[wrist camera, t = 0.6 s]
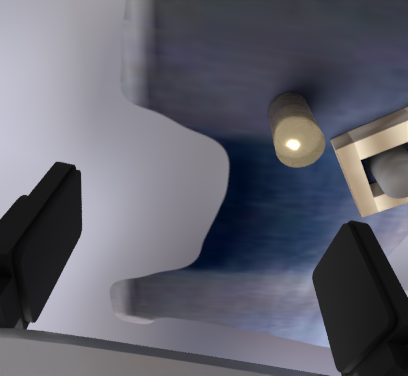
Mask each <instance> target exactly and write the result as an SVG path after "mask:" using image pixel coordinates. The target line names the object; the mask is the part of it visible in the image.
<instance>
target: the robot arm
mask: <svg viewBox="0 0 408 376" xmlns="http://www.w3.org/2000/svg"><path fill="white" fill-rule="evenodd" d="M81 231H82V201H81V172H80V170H76V167H75V165H72V164H67V163H62V162H56V163H55V164H54V165H53V166H52V167H51V168H50V170H49V171H48V172H47V173H46V175H45V176H44V177H43V178H42V179H41V181H40V182H39V183H38V184H37V186H36V187H35V188H34V189H33V190H32V192H31V193H30V194H29V196H27V195H23V196H21V197H19V198H18V200H16V202H15V203H14V204H13V205H12V206H11V208H10V209H9V210H8V211H7V212H6V213H5V215H4V216H3V217H2V218H1V219H0V376H328V375H321V374H316V373H310V372H304V371H298V370H292V369H286V368H279V367H274V366H267V365H261V364H255V363H249V362H243V361H236V360H230V359H224V358H218V357H212V356H205V355H199V354H192V353H186V352H180V351H173V350H167V349H161V348H154V347H148V346H141V345H135V344H129V343H122V342H116V341H109V340H103V339H96V338H89V337H82V336H75V335H68V334H60V333H53V332H45V331H36V330H26V329H27V327H28V324H29V323H30V322H32V323H34V322H36V321H37V319H38V317H39V316H40V314H41V312H42V310H43V308H44V306H45V304H46V302H47V300H48V298H49V296H50V294H51V292H52V290H53V288H54V286H55V284H56V283H57V281H58V279H59V277H60V275H61V273H62V271H63V269H64V267H65V265H66V263H67V261H68V259H69V257H70V255H71V253H72V251H73V249H74V248H75V246H76V244H77V242H78V239H79V238H80V235H81ZM312 279H313V284H314V287H315V291H316V295H317V299H318V302H319V306H320V310H321V314H322V317H323V321H324V325H325V329H326V332H327V336H328V340H329V344H330V347H331V351H332V355H333V358H334V362H335V365H336V368H337V370H338V371H339V372H341V375H342V376H408V297H407V295H406V293H405V292H404V290H403V288H402V286H401V284H400V283H399V280H398V279H397V276H396V275H395V273H394V271H393V269H392V267H391V265H390V263H389V262H388V259H387V258H386V256H385V254H384V252H383V250H382V248H381V246H380V244H379V243H378V241H377V239H376V237H375V235H374V233H373V231H372V229H371V227H370V226H369V225H368V224H366V223H362V222H357V221H349V222H348V223H347V224H343V225H342V227H341V228H340V230H339V231H338V233H337V235H336V236H335V238H334V239H333V241H332V243H331V244H330V246H329V247H328V249H327V251H326V252H325V254H324V255H323V257H322V258H321V260H320V262H319V263H318V265H317V266H316V268H315V270H314V272H313V276H312Z"/></svg>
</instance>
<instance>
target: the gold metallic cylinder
mask: <svg viewBox="0 0 408 376" xmlns="http://www.w3.org/2000/svg"><path fill="white" fill-rule="evenodd" d="M268 119H269V123H270V128H271V132H272V137H273V141H274V146H275V150H276V154H277V157H278V158H279V160H280V161H281V162H282V163H284V164H285V165H287V166H290V167H304V166H307V165H310V164H312V163H313V162H315V161H316V160H317V159H318V158H319V157H320V156H321V155H322V153H323V151H324V148H325V138H324V136H323V134H322V132H321V130H320V128H319V126H318V124H317V122H316V120H315V118H314V116H313V114H312V112H311V110H310V108H309V106H308V104H307V102H306V100H305V99H304V98H303V97H302V96H301V95H299V94H297V93H292V92H288V93H284V94H281V95H279V96H277V97H276V98H275V99H274V100H273V101H272V102H271V104H270V105H269V108H268Z"/></svg>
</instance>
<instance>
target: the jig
mask: <svg viewBox="0 0 408 376" xmlns="http://www.w3.org/2000/svg"><path fill="white" fill-rule="evenodd" d="M330 141H331V143H332V146H333V148H334V151H335V153H336V156H337V158H338V161H339V163H340V166H341V168H342V171H343V173H344V176H345V179H346V181H347V184H348V186H349V189H350V191H351V194H352V196H353V199H354V201H355V204H356V206H357V208H358V210H359V212H360V214H361V216H362V217H365V216H368V215H371V214H374V213H377V212H380V211H383V210H386V209H389V208H392V207H395V206H398V205H401V204H404V203H407V202H408V150H407V149H406V148H405V147H404V146H403V145H402V144H403V143H406V142H408V107H406V108H403V109H401V110H398V111H396V112H394V113H391V114H389V115H387V116H384V117H382V118H380V119H377V120H375V121H373V122H370V123H368V124H365V125H363V126H361V127H358V128H356V129H354V130H351V131H349V132H347V133H344V134H342V135H340V136H337V137H335V138H332V139H330ZM365 158H367V166H368V168H369V170H370V171H371V173H372V174H373V176H374V178H375V179H376V181H377V182H376V183H373V184H370V185H369V183H368V180H367V177H366V175H365V172H364V169H363V166H362V163H361V160H362V159H365Z"/></svg>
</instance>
